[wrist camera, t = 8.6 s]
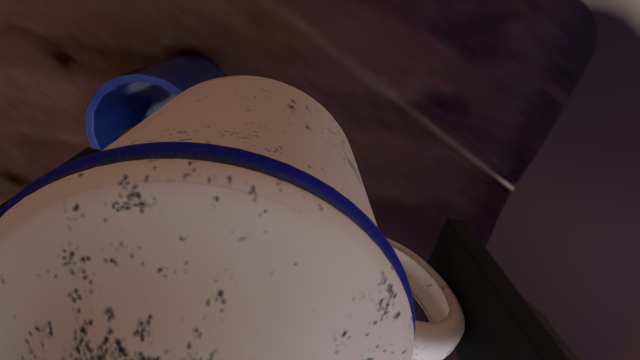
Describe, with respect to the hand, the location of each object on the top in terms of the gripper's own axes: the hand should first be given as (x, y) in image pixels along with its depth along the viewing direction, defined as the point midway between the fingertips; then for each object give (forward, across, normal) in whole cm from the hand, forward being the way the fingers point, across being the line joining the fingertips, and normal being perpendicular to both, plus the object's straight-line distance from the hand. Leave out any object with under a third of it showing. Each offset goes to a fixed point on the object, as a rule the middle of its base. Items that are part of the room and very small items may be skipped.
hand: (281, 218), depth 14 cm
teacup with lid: (+3, 0, 0) cm, 3 cm away
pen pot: (+23, -9, -3) cm, 25 cm away
